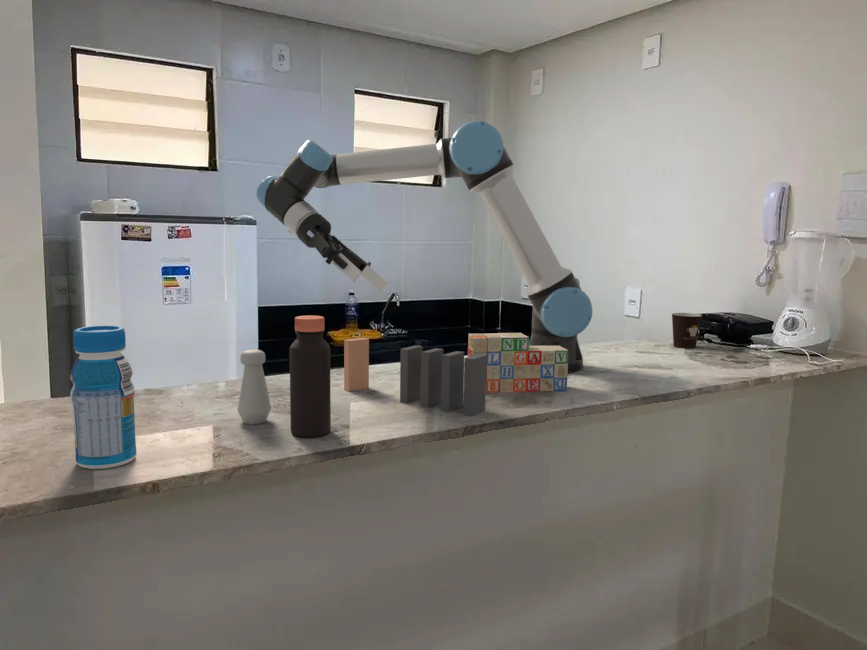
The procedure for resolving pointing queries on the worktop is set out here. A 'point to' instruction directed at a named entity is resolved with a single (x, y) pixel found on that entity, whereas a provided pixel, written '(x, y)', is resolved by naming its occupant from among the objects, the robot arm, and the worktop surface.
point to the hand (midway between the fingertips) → (371, 282)
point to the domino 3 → (452, 381)
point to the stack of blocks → (520, 363)
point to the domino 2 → (431, 377)
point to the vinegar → (310, 379)
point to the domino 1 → (410, 374)
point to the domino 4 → (474, 384)
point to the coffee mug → (686, 329)
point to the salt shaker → (253, 389)
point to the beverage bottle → (102, 399)
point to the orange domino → (356, 364)
